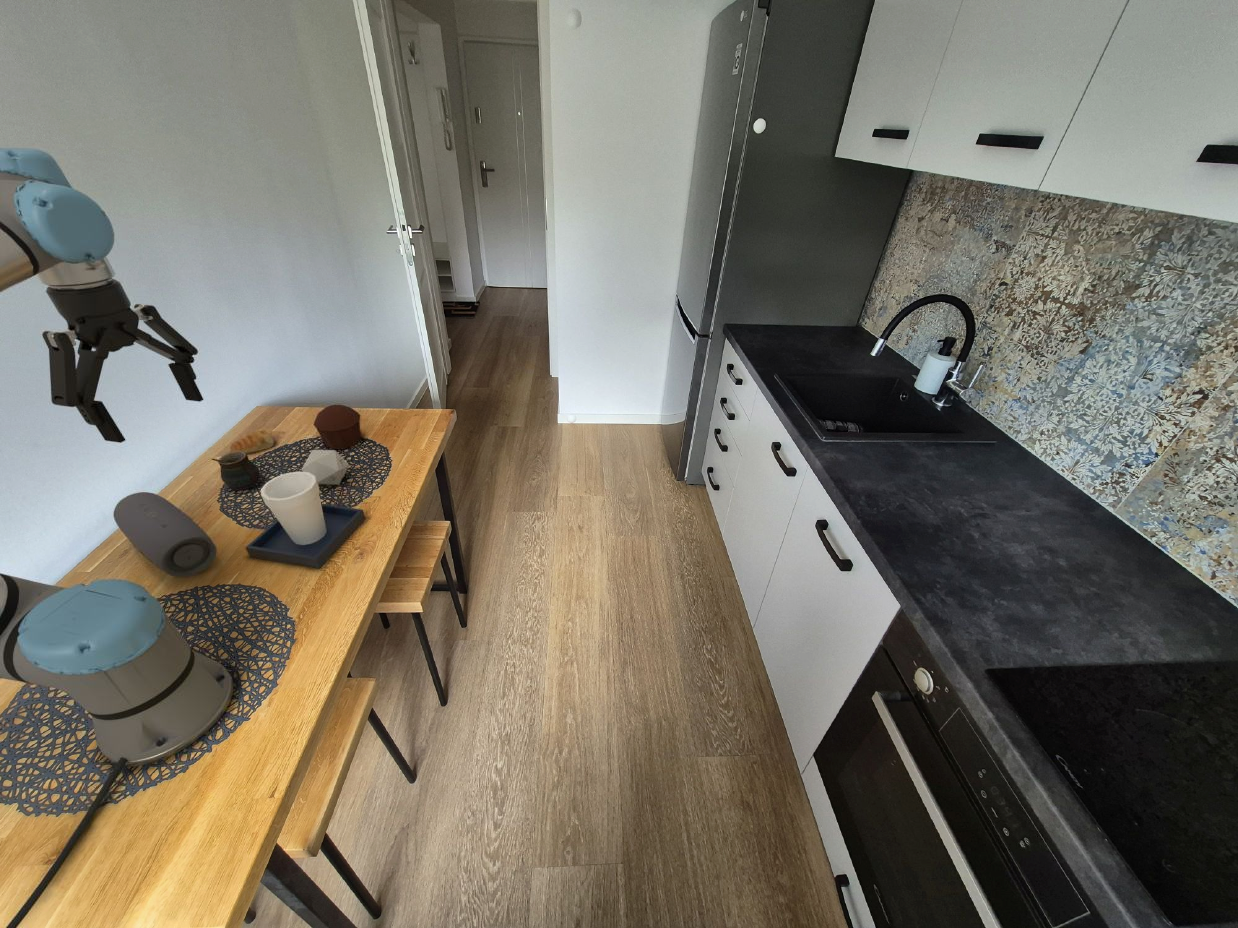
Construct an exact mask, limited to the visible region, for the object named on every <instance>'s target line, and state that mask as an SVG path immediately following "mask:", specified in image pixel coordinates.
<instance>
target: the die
mask: <svg viewBox="0 0 1238 928" xmlns="http://www.w3.org/2000/svg"><path fill="white" fill-rule="evenodd" d="M349 468H350V464H349V463H348V462H347V461H346V460H345V458H343V457H342V455H341V454H339V452H337V451H336V449H332V450H331V449H312V450H311V452H310V454H309V455H308V457H307V459H306V461H305V462H304V464H303V466H302V468H301V472H309V473H311V474H312V475H314V476H315V478H316V480H317V483H318V485H329V486H330V485H332V486H334V485H336V486H340V483H341V482H342V480H343V478H344V476H345V474H346V473H347V471H348V469H349Z"/></svg>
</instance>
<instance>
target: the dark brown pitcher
mask: <svg viewBox="0 0 1238 928" xmlns="http://www.w3.org/2000/svg"><path fill="white" fill-rule="evenodd" d="M211 460H212V461H215V462H218V464H219V466H220V478H221V481H222V482H223V483H224V484H225V485H226V486H227V487H228V488H229V489H232V490H235V491H245V490H248V489H251V488H254V487H255V486H257V485H258V483H259V481H260V478H261V475H260V469H259V468H258V466H257V465H256V464H255V463H254V462H252V461H251V460H250V459H249V456H248V453H247V454H246V453H245V452H243V451H234V452H231V451H230V452H227V453H225V454H223V455H221V456H220V457H219V458H218V459H217V458H211Z"/></svg>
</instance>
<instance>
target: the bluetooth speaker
mask: <svg viewBox="0 0 1238 928" xmlns="http://www.w3.org/2000/svg"><path fill="white" fill-rule="evenodd" d="M113 519H114V522H115V525H116V526H117V527H118V528H119V530H120V531H121V532H122V533H123V534H124V536H125V537H126V538H127V539H128V541H129V542H130V543H131V544H132V545H133V547H135V548H136V550H137V551H138V552H139V553H140V554H141V555H143V556H144V557H145V558H146V560H148V561H149V562H150V563H152V564H153V565H154V566H156V567H157V568H158V569H159V570H161V571H162V572H164V573H165V574H167V575H169V576H171V577H174V578H189V577H192V576H195V575H196V574H199V573H200V572H203V571H204V570H205V569H207V568H209V566H211V565H212V564H213V562H214V561H215V559H216V557H217V551H218V550H217V545H216V544H215V542H214V541H213V540H212V538H211V537H210V536H209V535H208V534H207V533H206V531H204V530H203V529H202V528H201V526H199V525H198V524H197V523H196V522H195V521H194V520H193V518H192V517H190V515H188V514H187V513H185V512H184V511H182V510H181V509H180V508H179V507H177V506H176V505H175V504H173V503H172V502H170V501H169V500H167V499H166V498H164V497H163V496H161V495H159V494H157V493H153V492H148V491H140V492H135V493H132V494H129V495H127V496H125V497H123V498H122V499H120V500H119V502H117V503H116V505H115V507H114V510H113Z"/></svg>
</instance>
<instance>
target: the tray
mask: <svg viewBox="0 0 1238 928" xmlns="http://www.w3.org/2000/svg"><path fill="white" fill-rule="evenodd" d="M321 506H322V511H323V516H324V521H325V526H326V531H327V532H326V533H325V535H324V537H322V538H321V539H320V540H318V541H316V542H314V543H312V544H306V545H299V544H296V543H295V542H293V540H292V539H291V538H290V536H289V535H288V534H287V532H286V531H285V529H284V528H283V527H282V525H281V524H280V522H279V521H278V520H277V519H276V520H275V521H273V523H271V524H270V525H269V526H268V527H267V528H266V529H264V530H263V531H262V532H261V533H260V534H259V535H258V536H256V538H255V539H253V540H252V541H251V542H250V543H249V544H247V545H246V546H245V550H246V552H247V554H248V555H249V557H250V558H253V559H254V558H255V559H261V560H267V561H271V562H278V563H284V564H289V565H290V564H291V565H296V566H302V567H308V568H314V569H321V568H322V567H323V566H325V564H326V563H327V561H329V560H330V558H331V557H332V556H333V555H334V554H335V553H336V552H337V551H338V550H339V548H340V547H341V546H342V545H343V544H344V543H345V542H346V541H347V540H348V538H350V536H352V534H353V533H354V532H355V531H356V530H357V528H359V527H360V525H361V524H363V522H364V521H365V520H366V515H365V512H364V509H362V508H361V509H360V508H354V507H347V506H340V505H335V504H327V503H321Z"/></svg>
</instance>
